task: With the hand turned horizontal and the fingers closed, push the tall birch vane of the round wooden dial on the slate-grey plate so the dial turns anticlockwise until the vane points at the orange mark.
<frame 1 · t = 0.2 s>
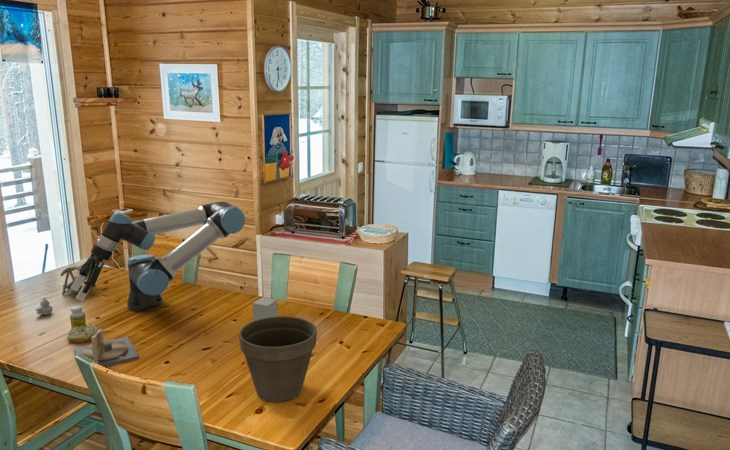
hand: (76, 294, 225), 15 cm above the table, tool tilted 35°, fingers open, 13 cm apart
dial: (103, 340, 206), point 6 cm above the table, hinge at 0.0°
supplement box: (265, 330, 232), on the table
decorated donut: (82, 338, 222), on the table
swing bench: (79, 291, 272), on the table
plant pot: (279, 391, 187), on the table
dial plate: (106, 354, 209), on the table
supplement bottle: (79, 329, 230), on the table
rubber duck: (44, 315, 243), on the table
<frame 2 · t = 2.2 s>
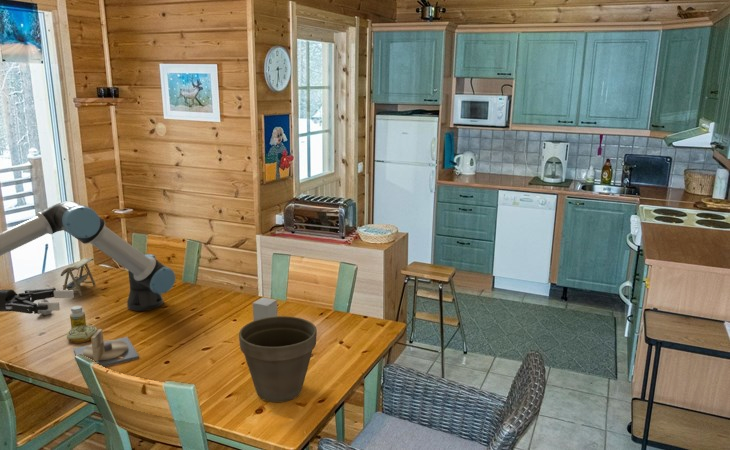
hand: (66, 300, 196), 24 cm above the table, tool horizontal, fingers open, 11 cm apart
nothing on the table moved.
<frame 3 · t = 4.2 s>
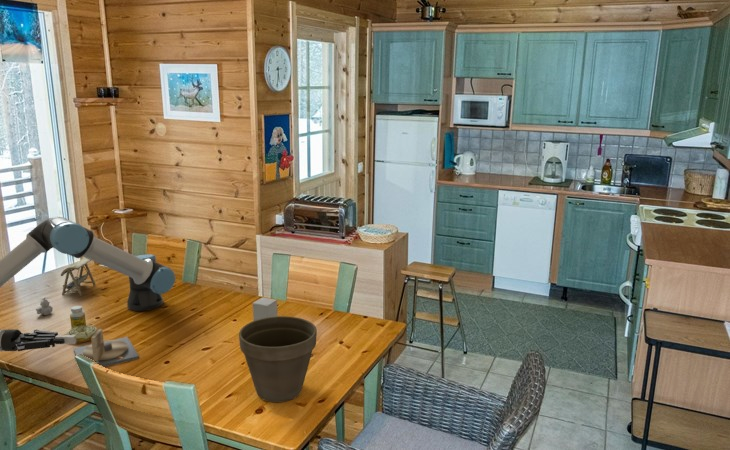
hand: (75, 339, 200), 9 cm above the table, tool horizontal, fingers closed
nothing on the table moved.
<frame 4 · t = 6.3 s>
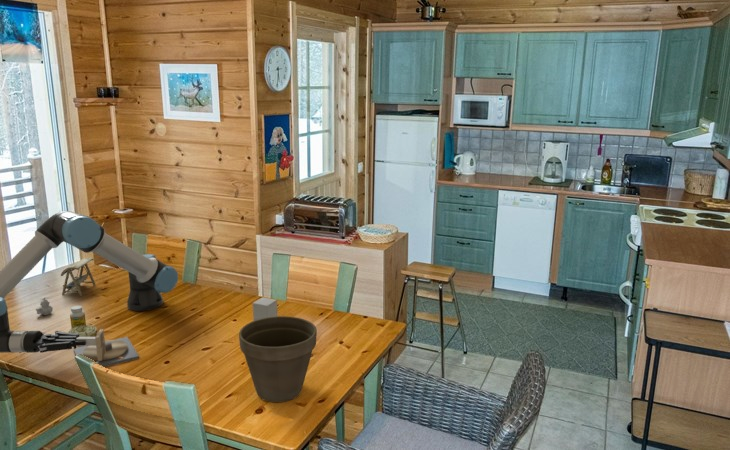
hand: (96, 341, 200), 9 cm above the table, tool horizontal, fingers closed
dial: (103, 340, 207), point 6 cm above the table, hinge at 8.6°, touching gripper
everything else where it was.
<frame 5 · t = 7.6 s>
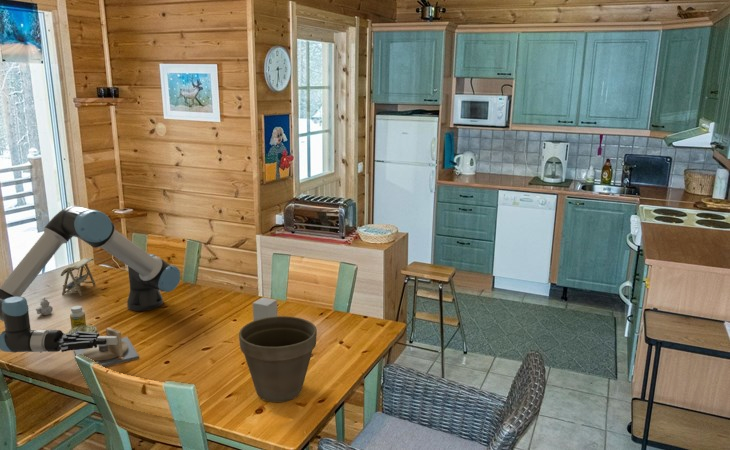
hand: (116, 340, 201), 9 cm above the table, tool horizontal, fingers closed
dial: (106, 339, 207), point 6 cm above the table, hinge at 53.5°, touching gripper
everything else where it was.
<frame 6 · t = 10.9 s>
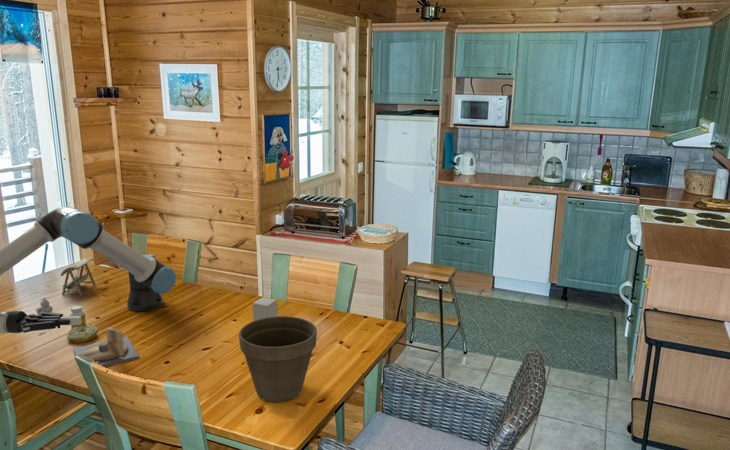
hand: (80, 320, 198), 17 cm above the table, tool horizontal, fingers closed
dial: (106, 339, 207), point 6 cm above the table, hinge at 56.1°
everything else where it was.
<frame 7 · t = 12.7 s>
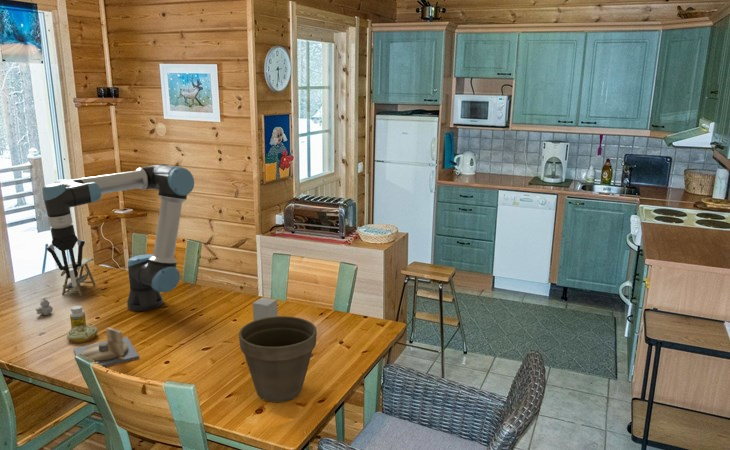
hand: (74, 285, 214), 23 cm above the table, tool pointing down, fingers closed
nothing on the table moved.
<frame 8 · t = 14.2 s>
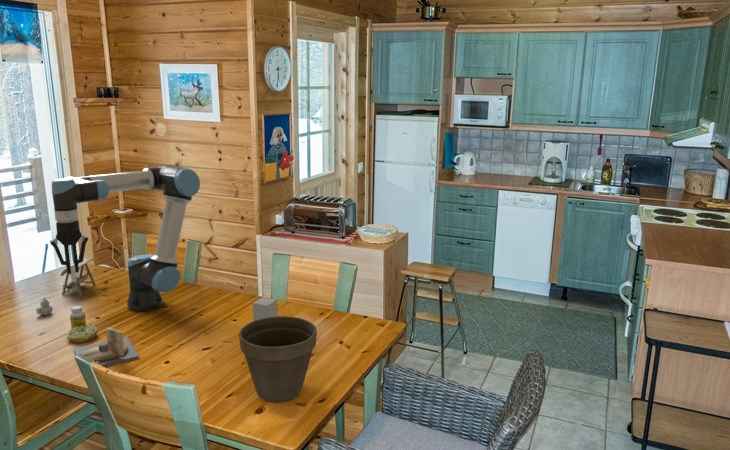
hand: (73, 280, 214), 24 cm above the table, tool pointing down, fingers closed
nothing on the table moved.
at the end: dial at +56° (first picture: +0°) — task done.
